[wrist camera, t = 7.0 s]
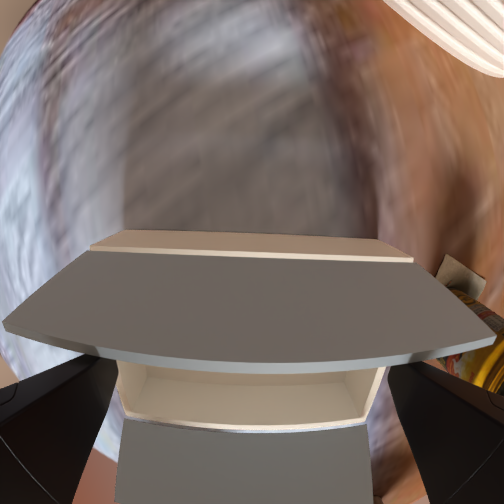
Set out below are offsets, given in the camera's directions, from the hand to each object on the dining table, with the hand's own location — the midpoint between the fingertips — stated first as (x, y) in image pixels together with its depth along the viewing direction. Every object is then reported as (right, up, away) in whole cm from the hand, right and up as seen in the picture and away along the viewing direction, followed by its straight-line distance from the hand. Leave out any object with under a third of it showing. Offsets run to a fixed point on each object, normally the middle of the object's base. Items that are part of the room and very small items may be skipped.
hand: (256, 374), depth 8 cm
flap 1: (0, +2, +2) cm, 3 cm away
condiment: (+18, -2, +13) cm, 22 cm away
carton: (0, -1, +12) cm, 12 cm away
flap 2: (-1, -11, +6) cm, 13 cm away
